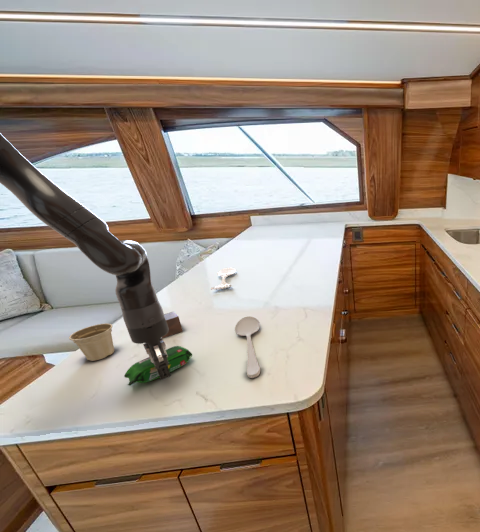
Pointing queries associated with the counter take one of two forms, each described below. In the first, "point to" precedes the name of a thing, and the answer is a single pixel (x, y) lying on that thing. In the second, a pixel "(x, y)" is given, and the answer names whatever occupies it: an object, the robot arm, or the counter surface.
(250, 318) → the spoon
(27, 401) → the counter surface
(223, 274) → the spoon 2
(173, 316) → the walnut block
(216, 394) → the counter surface
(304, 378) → the counter surface
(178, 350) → the snack package
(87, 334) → the flower pot
